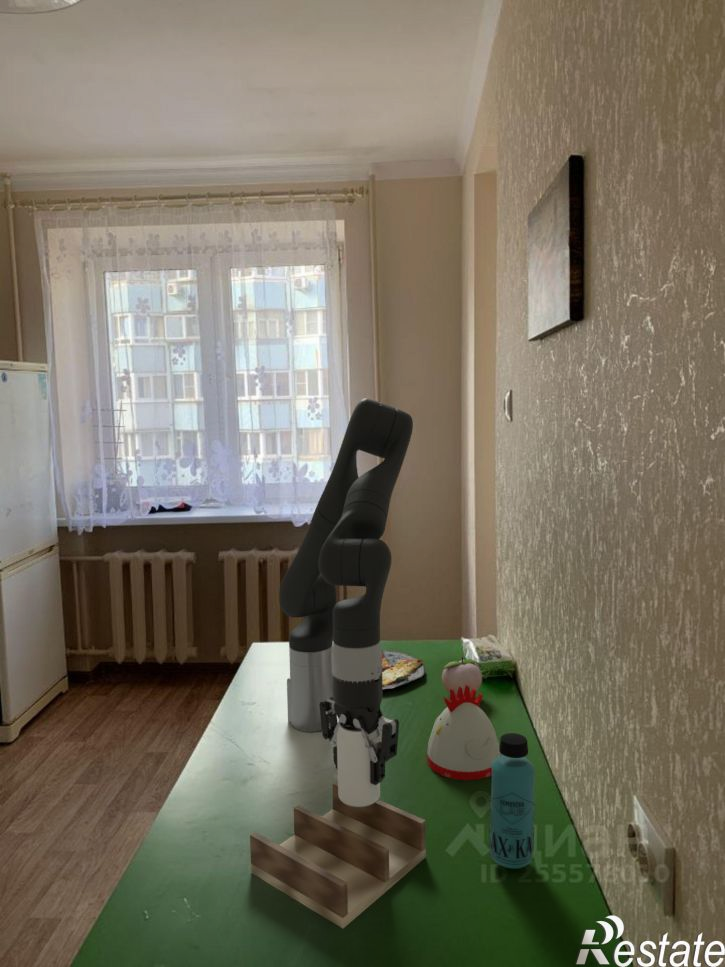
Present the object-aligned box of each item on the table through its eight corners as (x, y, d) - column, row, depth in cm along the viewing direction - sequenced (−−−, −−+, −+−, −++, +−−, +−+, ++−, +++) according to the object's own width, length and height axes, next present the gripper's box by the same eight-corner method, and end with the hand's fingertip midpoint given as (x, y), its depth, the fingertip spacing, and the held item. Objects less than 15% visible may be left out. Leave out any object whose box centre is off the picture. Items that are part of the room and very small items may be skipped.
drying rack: (251, 872, 107) (249, 835, 107) (337, 814, 122) (336, 781, 121) (343, 928, 96) (342, 886, 95) (425, 857, 110) (425, 820, 110)
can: (376, 810, 108) (375, 733, 106) (333, 806, 109) (332, 730, 107) (383, 787, 114) (382, 714, 112) (343, 783, 115) (341, 711, 114)
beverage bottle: (484, 852, 111) (485, 728, 109) (526, 849, 112) (528, 726, 109) (495, 881, 105) (496, 749, 102) (540, 877, 105) (542, 746, 103)
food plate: (379, 650, 199) (379, 638, 198) (443, 674, 182) (443, 661, 181) (307, 678, 182) (307, 664, 182) (371, 707, 165) (370, 692, 165)
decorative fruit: (458, 710, 161) (458, 667, 160) (436, 697, 168) (436, 655, 167) (490, 701, 166) (491, 658, 165) (468, 688, 173) (468, 648, 172)
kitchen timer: (414, 752, 143) (414, 679, 141) (474, 738, 148) (474, 667, 146) (451, 787, 130) (451, 707, 128) (515, 770, 136) (516, 693, 134)
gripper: (305, 666, 110) (307, 770, 113) (379, 689, 101) (381, 802, 103) (337, 652, 116) (339, 751, 118) (411, 673, 107) (411, 780, 109)
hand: (359, 774), depth 111 cm, fingers closed on can, 6 cm apart
